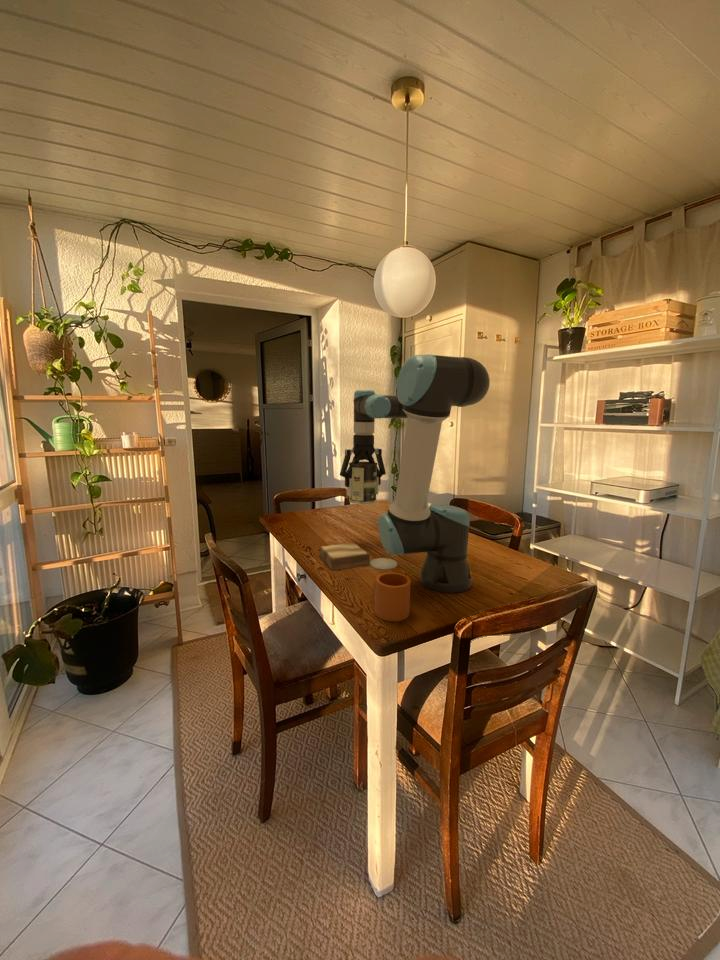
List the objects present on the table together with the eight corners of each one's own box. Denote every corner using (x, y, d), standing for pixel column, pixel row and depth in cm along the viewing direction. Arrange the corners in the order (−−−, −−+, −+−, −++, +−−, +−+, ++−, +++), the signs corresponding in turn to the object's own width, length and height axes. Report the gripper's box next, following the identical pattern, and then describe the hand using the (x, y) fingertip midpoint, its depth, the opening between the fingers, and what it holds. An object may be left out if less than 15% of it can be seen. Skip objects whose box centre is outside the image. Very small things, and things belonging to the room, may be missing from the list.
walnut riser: (369, 564, 132) (369, 554, 131) (332, 570, 126) (332, 559, 126) (354, 551, 143) (354, 541, 143) (319, 556, 138) (319, 546, 138)
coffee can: (376, 498, 152) (377, 461, 150) (376, 504, 142) (377, 465, 140) (349, 497, 152) (349, 460, 150) (347, 503, 142) (348, 464, 140)
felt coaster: (402, 567, 130) (402, 565, 130) (377, 571, 126) (377, 569, 126) (389, 557, 138) (389, 556, 138) (365, 561, 134) (365, 560, 134)
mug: (394, 596, 109) (396, 565, 108) (415, 618, 98) (418, 584, 97) (364, 601, 106) (365, 569, 105) (382, 624, 95) (384, 589, 94)
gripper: (387, 433, 151) (385, 490, 155) (330, 433, 142) (330, 494, 146) (396, 434, 144) (394, 494, 148) (338, 434, 135) (337, 498, 139)
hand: (362, 494), depth 147 cm, fingers closed on coffee can, 10 cm apart
